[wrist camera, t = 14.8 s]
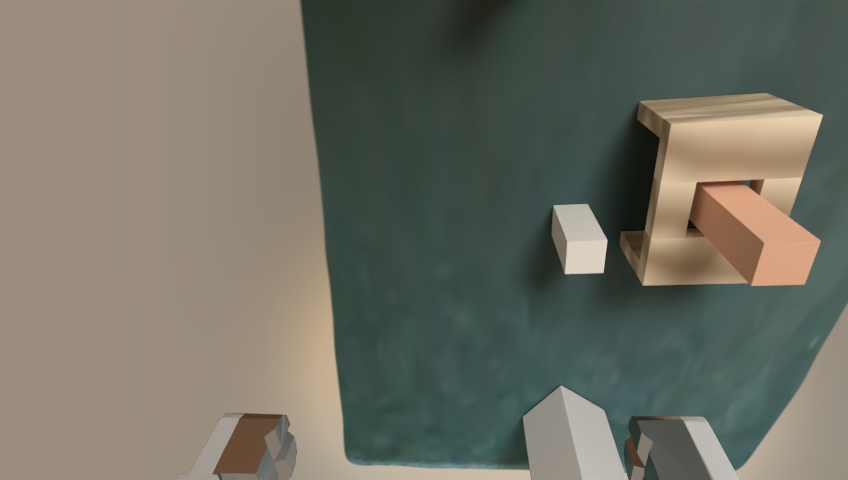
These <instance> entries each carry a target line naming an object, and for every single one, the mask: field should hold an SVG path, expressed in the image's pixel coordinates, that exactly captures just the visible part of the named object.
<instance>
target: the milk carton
mask: <svg viewBox="0 0 848 480" xmlns="http://www.w3.org/2000/svg"><path fill="white" fill-rule="evenodd" d="M523 423H524V431H525V438H526V445H527V453H528V460H529V468H530V475H531V480H627V479H626V476H625V473H624V470H623V467H622V464H621V461H620V458H619V455H618V451H617V448H616V445H615V442H614V439H613V436H612V433H611V430H610V427H609V424H608V421H607V418H606V414H605V412H604V410H603V409H601V408H599V407H598V406H596V405H594V404H593V403H591V402H589V401H587V400H586V399H584V398H582V397H581V396H579V395H577V394H575V393H574V392H572V391H570V390H569V389H567V388H565V387H563V386H559V387H558V388H557V389H556V390H554V391H553V392H552V393H551V394H550V395H548V396H547V397H546V398H545V399H544V400H542V401H541V402H540V403H539V404H537V405H536V406H535V407H534V408H533V409H531V410H530V411H529V412H528V413H527V414H525V415H524V416H523Z"/></svg>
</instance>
